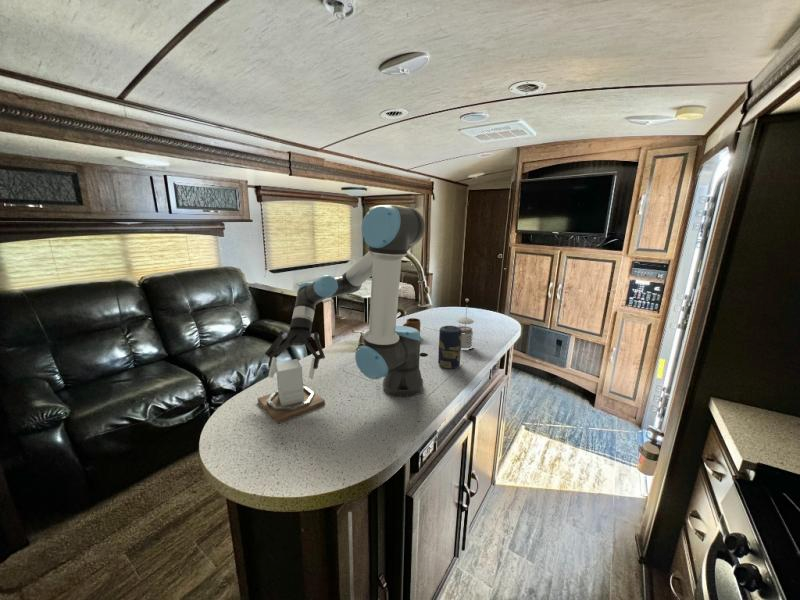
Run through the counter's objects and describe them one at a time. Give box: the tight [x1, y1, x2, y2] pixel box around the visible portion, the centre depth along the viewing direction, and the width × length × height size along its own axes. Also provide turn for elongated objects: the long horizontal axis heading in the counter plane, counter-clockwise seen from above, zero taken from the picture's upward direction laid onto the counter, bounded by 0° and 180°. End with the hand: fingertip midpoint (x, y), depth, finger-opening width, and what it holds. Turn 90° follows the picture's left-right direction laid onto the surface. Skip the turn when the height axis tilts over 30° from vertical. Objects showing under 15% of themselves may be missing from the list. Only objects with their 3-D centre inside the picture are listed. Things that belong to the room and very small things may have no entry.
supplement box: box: [275, 358, 304, 407], centre depth 105 cm, size 7×7×13 cm
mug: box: [402, 317, 421, 333], centre depth 170 cm, size 12×8×9 cm, turn 138°
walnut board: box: [257, 383, 326, 424], centre depth 107 cm, size 16×16×2 cm
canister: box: [437, 325, 463, 369], centre depth 136 cm, size 10×10×18 cm
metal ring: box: [267, 385, 315, 412], centre depth 106 cm, size 14×14×1 cm
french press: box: [457, 298, 475, 348], centre depth 156 cm, size 10×12×25 cm
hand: (290, 377), depth 107 cm, fingers open, 13 cm apart
